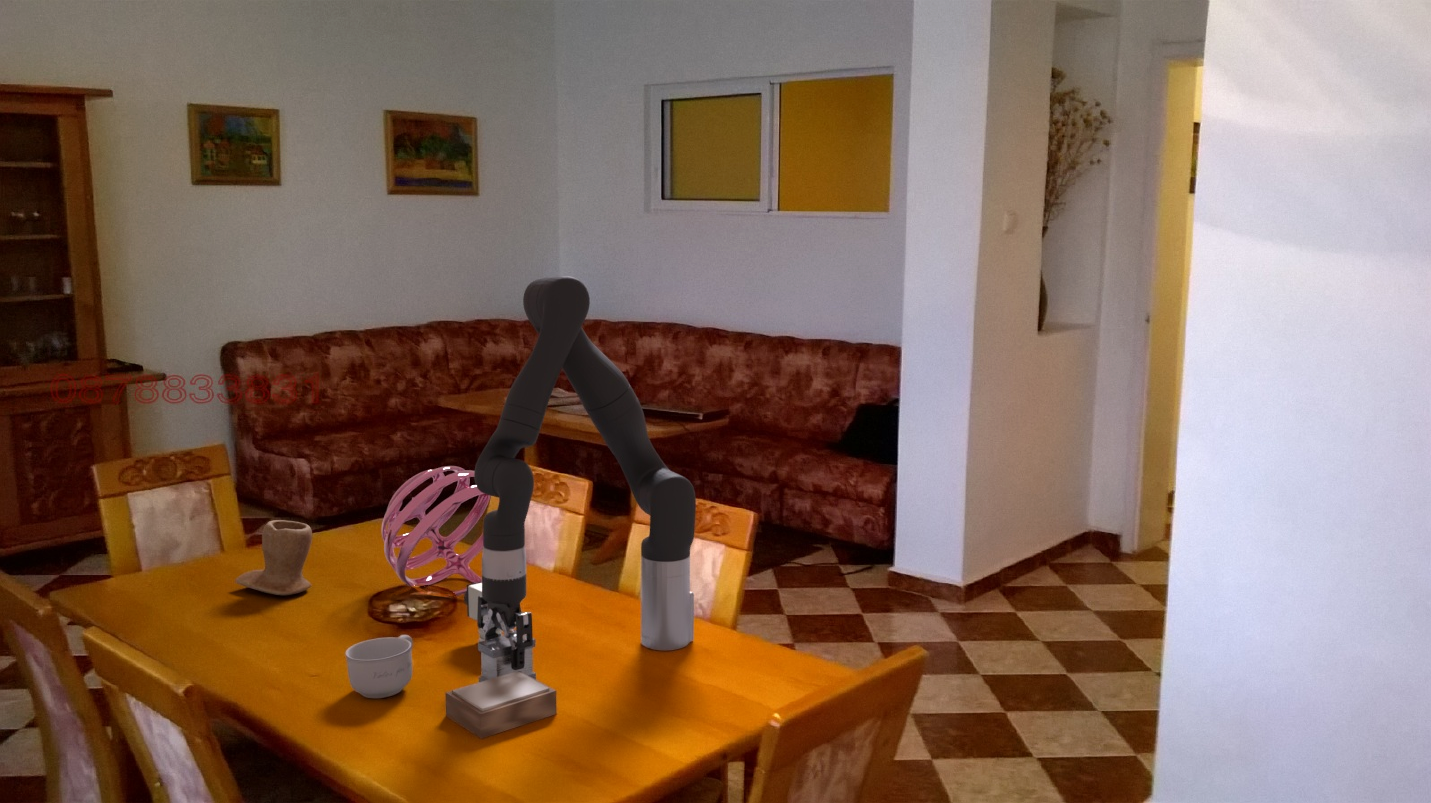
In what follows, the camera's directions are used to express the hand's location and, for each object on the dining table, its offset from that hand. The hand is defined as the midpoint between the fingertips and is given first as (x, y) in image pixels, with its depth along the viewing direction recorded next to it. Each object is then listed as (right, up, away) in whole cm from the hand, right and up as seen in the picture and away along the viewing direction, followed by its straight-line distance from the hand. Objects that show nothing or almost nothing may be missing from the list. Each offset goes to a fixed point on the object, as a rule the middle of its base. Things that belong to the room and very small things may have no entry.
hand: (504, 661), depth 203 cm
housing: (0, -4, +1) cm, 4 cm away
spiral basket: (-22, +5, +52) cm, 57 cm away
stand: (+2, -6, -13) cm, 14 cm away
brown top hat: (-57, +4, +49) cm, 75 cm away
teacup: (-20, -4, -3) cm, 20 cm away
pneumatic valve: (-6, -1, +19) cm, 20 cm away
